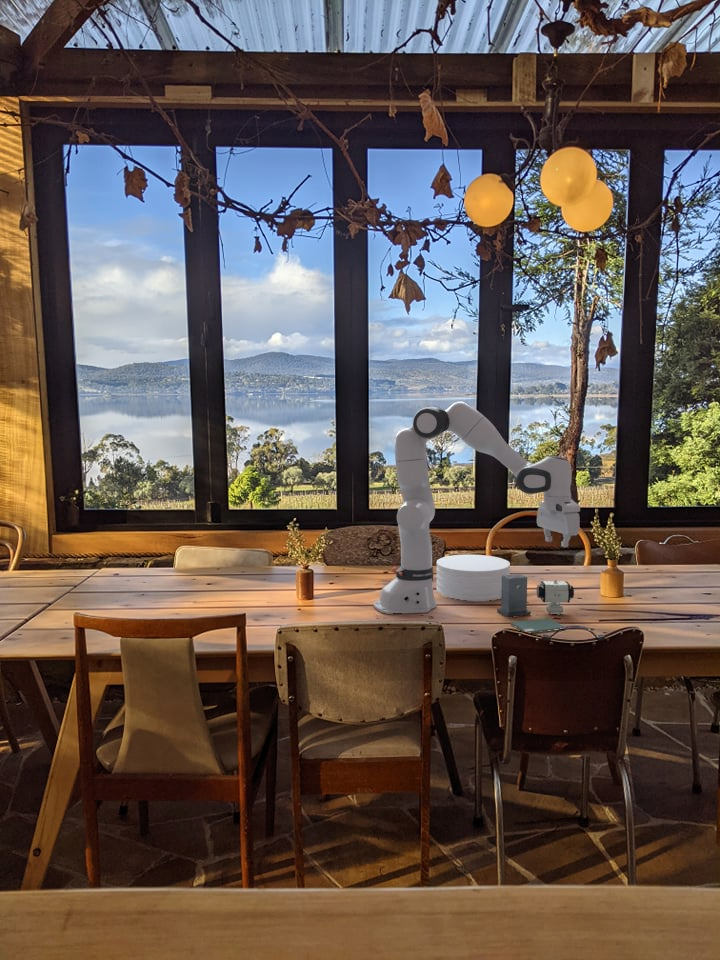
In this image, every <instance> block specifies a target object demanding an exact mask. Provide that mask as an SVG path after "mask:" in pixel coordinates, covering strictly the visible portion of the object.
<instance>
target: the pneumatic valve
mask: <svg viewBox="0 0 720 960" xmlns="http://www.w3.org/2000/svg"><path fill="white" fill-rule="evenodd" d="M574 595H575V590H574V586H573V585H571V584H570V583H569V582H568V581H566V580H564V581H561V580H560V581H559V580H557V579H553V580H552V581H551V580H550V581H549V580H541V581H540V584H538V585H536V598H538V599H540V600H541V601H542V602H543V603H547V605H546V606H545V608H546V613H549V612H550V613H549V615H550V614H557V615H556V616H561V615H562V613H563V612H564V607H563V605H561V603H564V604H565V603H566V604H567V603H571V602H570V601H571V599H574ZM560 614H561V615H560Z"/></svg>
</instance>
